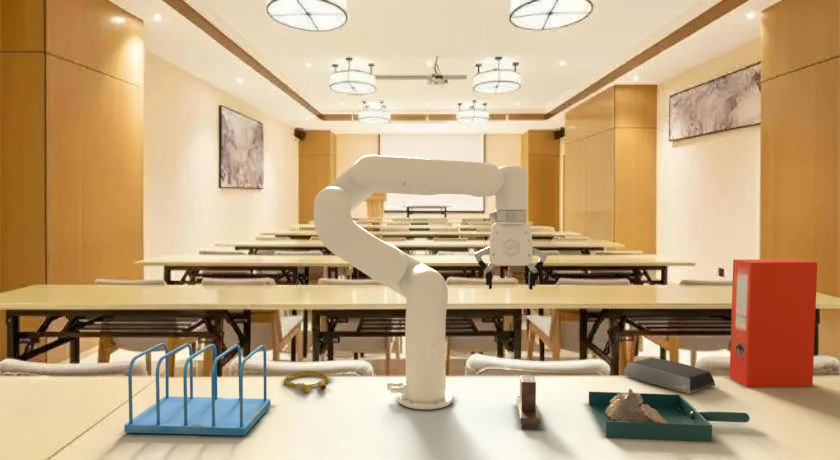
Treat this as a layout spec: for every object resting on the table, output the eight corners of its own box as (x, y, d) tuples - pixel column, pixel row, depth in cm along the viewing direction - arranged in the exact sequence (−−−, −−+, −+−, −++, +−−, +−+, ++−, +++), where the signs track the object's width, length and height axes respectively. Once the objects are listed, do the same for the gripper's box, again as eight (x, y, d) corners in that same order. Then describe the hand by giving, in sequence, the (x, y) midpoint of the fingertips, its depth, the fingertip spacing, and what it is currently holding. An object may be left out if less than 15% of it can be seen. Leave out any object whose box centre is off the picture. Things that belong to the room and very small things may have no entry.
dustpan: (605, 437, 117) (605, 421, 117) (588, 405, 136) (588, 391, 136) (771, 443, 114) (771, 427, 114) (730, 410, 133) (730, 396, 133)
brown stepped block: (520, 429, 121) (520, 388, 121) (516, 406, 135) (516, 369, 135) (540, 430, 121) (540, 389, 120) (533, 406, 135) (534, 369, 134)
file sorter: (123, 434, 118) (121, 359, 118) (164, 404, 136) (163, 339, 135) (245, 436, 117) (244, 361, 117) (271, 406, 135) (270, 340, 134)
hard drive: (687, 396, 142) (687, 379, 142) (620, 376, 158) (621, 361, 158) (717, 386, 149) (717, 370, 149) (650, 368, 166) (650, 354, 165)
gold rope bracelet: (275, 393, 144) (275, 385, 144) (289, 374, 160) (289, 367, 160) (325, 393, 144) (325, 385, 144) (334, 374, 160) (334, 367, 160)
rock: (656, 440, 115) (657, 404, 115) (599, 417, 127) (599, 385, 127) (675, 434, 118) (676, 399, 118) (617, 412, 130) (618, 381, 130)
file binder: (813, 386, 150) (817, 262, 148) (747, 387, 149) (751, 262, 147) (791, 377, 158) (795, 259, 156) (729, 378, 157) (732, 259, 155)
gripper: (474, 218, 138) (474, 290, 138) (549, 218, 136) (548, 291, 137) (474, 217, 145) (474, 285, 146) (545, 217, 143) (545, 287, 144)
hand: (510, 288), depth 141 cm, fingers open, 9 cm apart
